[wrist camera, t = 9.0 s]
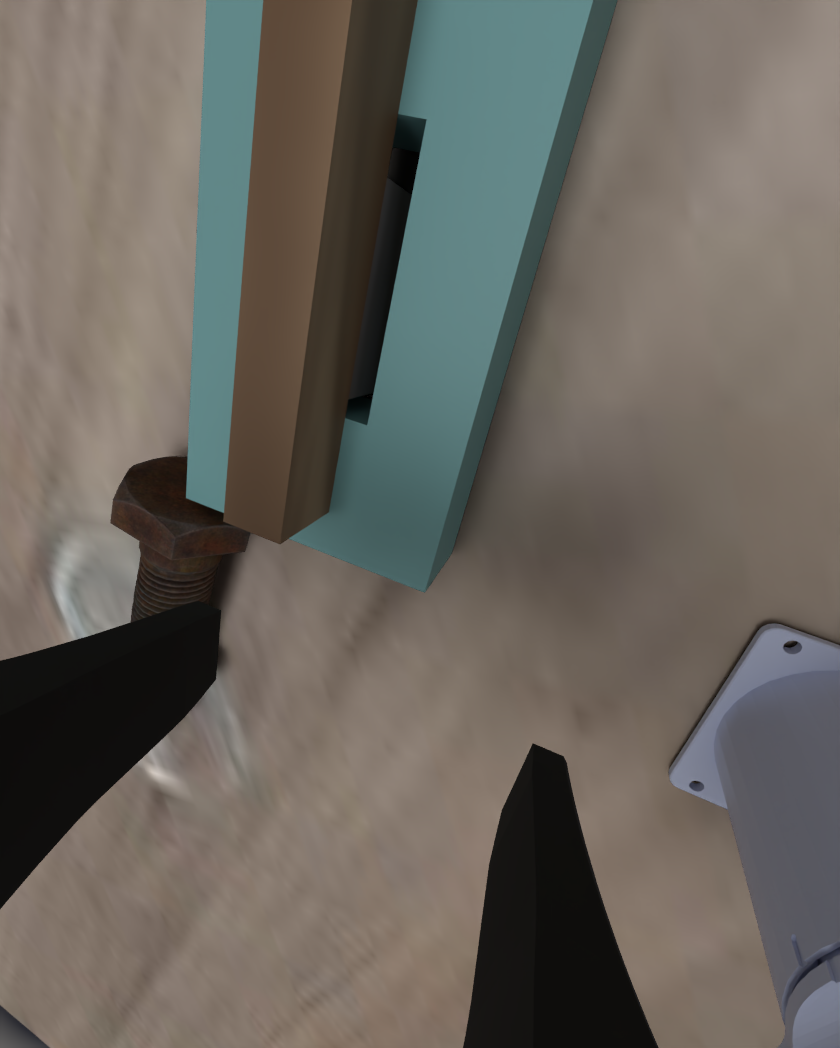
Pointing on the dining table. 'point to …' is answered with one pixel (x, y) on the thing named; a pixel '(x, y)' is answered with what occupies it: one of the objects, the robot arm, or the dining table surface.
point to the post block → (408, 260)
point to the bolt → (171, 536)
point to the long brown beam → (314, 250)
